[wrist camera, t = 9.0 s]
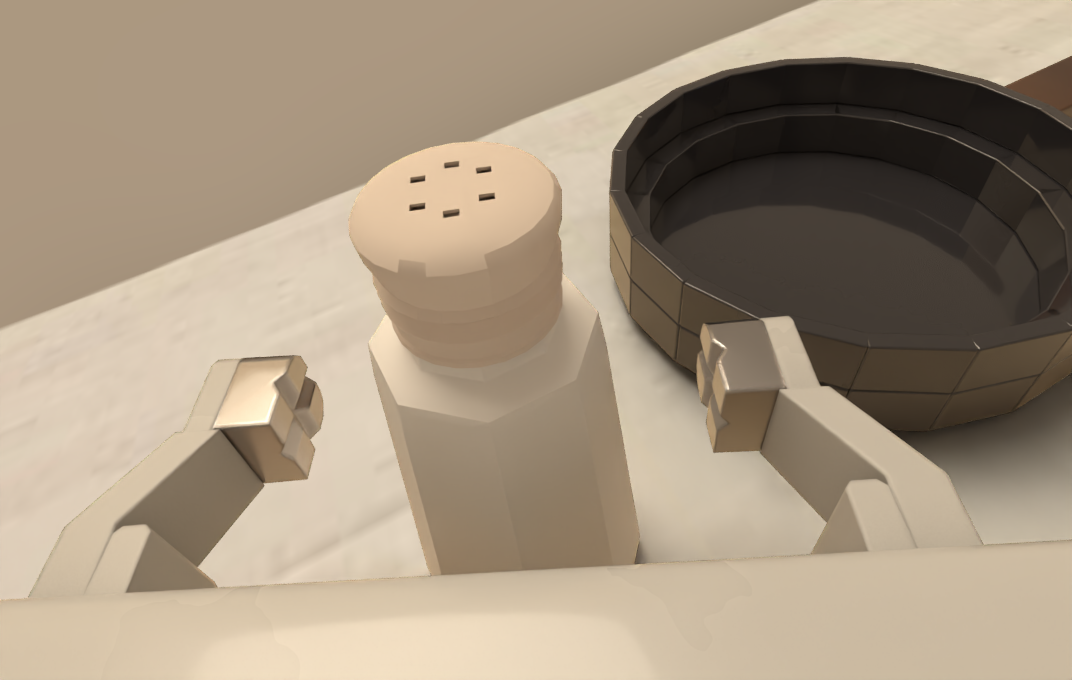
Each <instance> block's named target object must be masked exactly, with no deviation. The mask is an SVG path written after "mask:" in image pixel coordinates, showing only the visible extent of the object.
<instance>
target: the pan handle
mask: <svg viewBox="0 0 1072 680" xmlns="http://www.w3.org/2000/svg"><path fill="white" fill-rule="evenodd" d="M1004 87H1006V88H1009V89H1011V90H1014V91H1016V92H1019V93H1021V94H1024V95H1027V96H1029V97H1032V98H1034V99H1037V100H1039V101H1042V102H1044V103H1047V104H1050V105H1051V106H1054V107H1055V108H1057V109H1058V110H1060V111H1062V112H1063V113H1065V114H1066V115H1068V116H1069V117H1071V118H1072V56H1070V57H1068V58H1066V59H1064V60H1061V61H1059V62H1057V63H1055V64H1053V65H1051V66H1048V67H1046V68H1044V69H1042V70H1040V71H1037V72H1035V73H1033V74H1031V75H1029V76H1026V77H1024V78H1022V79H1020V80H1018V81H1015V82H1013V83H1011V84H1009V85H1007V86H1004Z"/></svg>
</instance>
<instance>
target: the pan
mask: <svg viewBox="0 0 1072 680" xmlns="http://www.w3.org/2000/svg"><path fill="white" fill-rule="evenodd" d="M609 205H610V268H611V272H612V274H613V277H614V279H615V281H616V284H617V286H618V289H619V291H620V293H621V296H622V298H623V300H624V303H625V305H626V308H627V310H628V312H629V314H630V315H631V317H632V318H633V319H634V320H635V321H636V322H637V323H638V324H639V325H640V326H641V327H642V328H643V329H644V330H645V331H646V332H647V333H648V335H649V336H650V337H651V338H652V339H653V340H654V341H655V342H656V343H657V344H658V345H659V346H660V347H661V348H662V349H663V350H664V351H665V352H666V353H667V354H668V355H669V356H670V357H671V358H672V359H673V360H674V361H676V362H677V363H678V364H680V365H682V366H683V367H685V368H687V369H689V370H690V371H692V372H694V373H696V374H697V357H698V353H699V352H700V351H701V350H702V349H703V347H702V343H701V339H700V334H701V328H702V326H703V324H704V323H709V322H721V321H732V320H743V319H754V318H758V319H760V318H769V317H781V316H789V317H791V318H792V319H793V321H794V323H795V326H796V328H797V330H798V333H799V335H800V338H801V340H802V343H803V345H804V347H805V350H806V352H807V355H808V357H809V360H810V362H811V364H812V367H813V369H814V372H815V374H816V377H817V379H818V381H819V384H820V386H830V387H831V388H832V389H834V390H835V391H837V392H838V393H839V394H841V395H842V396H843V397H845V398H846V399H847V400H849V401H850V402H851V403H853V404H854V405H856V406H857V407H858V408H860V409H861V410H862V411H864V412H865V413H866V414H868V415H869V416H870V417H872V418H873V419H874V420H876V421H877V422H879V423H880V424H881V425H883V426H884V427H885V428H887V429H888V430H909V431H928V430H934V429H939V428H943V427H948V426H952V425H957V424H961V423H965V422H970V421H974V420H979V419H983V418H988V417H992V416H996V415H1001V414H1005V413H1009V412H1012V411H1015V410H1016V409H1018V408H1019V407H1021V406H1022V405H1024V404H1025V403H1027V402H1028V401H1030V400H1031V399H1033V398H1034V397H1036V396H1037V395H1039V394H1041V393H1042V392H1044V391H1045V390H1047V389H1048V388H1050V387H1051V386H1053V385H1054V384H1056V383H1057V382H1059V381H1060V380H1062V379H1063V378H1065V377H1066V376H1068V375H1069V374H1070V373H1071V372H1072V118H1071V117H1069V116H1068V115H1066V114H1065V113H1063V112H1062V111H1060V110H1058V109H1057V108H1055V107H1054V106H1051V105H1050V104H1047V103H1044V102H1042V101H1039V100H1037V99H1034V98H1032V97H1029V96H1027V95H1024V94H1021V93H1019V92H1016V91H1014V90H1011V89H1009V88H1006V87H1003V86H1001V85H998V84H996V83H993V82H991V81H988V80H984V79H981V78H977V77H973V76H968V75H964V74H959V73H955V72H951V71H946V70H942V69H938V68H933V67H929V66H924V65H920V64H914V63H905V62H894V61H883V60H873V59H862V58H851V57H848V58H847V57H835V58H808V59H784V60H777V61H772V62H766V63H761V64H756V65H750V66H745V67H739V68H734V69H729V70H725V71H721V72H718V73H716V74H713V75H710V76H708V77H705V78H703V79H700V80H697V81H695V82H692V83H689V84H687V85H684V86H681V87H679V88H676V89H675V90H672V91H671V92H670V93H668V94H667V95H665V96H664V97H663V98H661V99H660V100H658V101H657V102H655V103H654V104H653V105H651V106H650V107H648V108H647V109H645V110H644V111H643V112H641V113H640V114H638V115H637V116H636V117H635V118H634V120H633V121H632V123H631V124H630V126H629V127H628V129H627V130H626V132H625V133H624V135H623V136H622V138H621V139H620V141H619V142H618V144H617V145H616V147H615V148H614V150H613V152H612V164H611V177H610V190H609Z"/></svg>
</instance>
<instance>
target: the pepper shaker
mask: <svg viewBox="0 0 1072 680" xmlns="http://www.w3.org/2000/svg"><path fill="white" fill-rule="evenodd" d="M561 220H562V189H561V187H560V185H559V183H558V181H557V178H556V176H555V174H553V173H552V172H551V171H550V170H549V169H548V168H547V167H546V166H545V165H544V164H543V163H542V162H541V161H539V160H538V159H537V158H536V157H535V156H533V155H531V154H529V153H527V152H525V151H523V150H521V149H519V148H515V147H511V146H507V145H503V144H499V143H489V142H463V143H450V144H446V145H441V146H436V147H432V148H427V149H425V150H422V151H419V152H416V153H413V154H411V155H408V156H405V157H403V158H402V159H400V160H398V161H396V162H394V163H392V164H390V165H389V166H387V167H385V168H384V169H383V170H382V171H380V172H379V173H378V174H377V175H375V176H374V177H373V178H372V179H370V180H369V182H368V183H367V184H366V185H365V187H364V188H363V189H362V190H361V192H360V193H359V194H358V196H357V199H356V201H355V203H354V206H353V208H352V211H351V214H350V217H349V236H350V238H351V240H352V242H353V245H354V247H355V249H356V250H357V252H358V254H359V256H360V258H361V259H362V261H363V263H364V264H365V265H366V267H367V268H368V269H369V270H370V271H371V273H372V275H373V284H374V286H375V288H376V290H377V294H378V296H379V298H380V300H381V304H382V306H383V308H384V310H385V312H386V313H387V314H386V316H385V317H384V319H383V320H382V322H381V324H380V325H379V327H378V328H377V330H376V332H375V333H374V335H373V337H372V338H371V340H370V341H369V343H368V346H369V352H370V357H371V362H372V367H373V372H374V377H375V380H376V384H377V387H378V391H379V395H380V398H381V402H382V405H383V409H384V413H385V416H386V420H387V423H388V427H389V431H390V434H391V438H392V441H393V445H394V449H395V452H396V456H397V459H398V463H399V467H400V470H401V474H402V477H403V481H404V485H405V488H406V492H407V495H408V499H409V503H410V506H411V510H412V513H413V517H414V521H415V524H416V528H417V531H418V535H419V539H420V542H421V546H422V549H423V553H424V557H425V560H426V564H427V567H428V569H429V571H430V574H431V576H434V575H452V574H470V573H487V572H505V571H523V570H541V569H560V568H578V567H596V566H614V565H632V564H634V563H635V558H636V553H637V548H638V543H639V538H640V534H639V529H638V523H637V517H636V511H635V506H634V500H633V494H632V489H631V483H630V477H629V471H628V466H627V460H626V454H625V449H624V443H623V437H622V431H621V426H620V420H619V414H618V409H617V403H616V397H615V391H614V386H613V380H612V374H611V369H610V363H609V357H608V351H607V346H606V341H605V337H604V333H603V329H602V325H601V322H600V318H599V314H598V311H597V310H596V309H595V308H594V307H593V306H592V305H591V304H590V302H589V301H588V300H587V299H586V298H585V297H584V296H583V295H582V294H581V292H580V291H579V290H578V289H577V288H576V287H575V286H574V285H573V283H572V282H571V281H570V280H569V279H568V278H567V277H566V276H565V275H564V273H563V272H562V252H561V240H560V238H559V235H558V231H559V228H560V224H561Z"/></svg>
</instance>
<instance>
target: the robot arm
mask: <svg viewBox="0 0 1072 680" xmlns="http://www.w3.org/2000/svg"><path fill="white" fill-rule="evenodd" d="M700 339H701V343H702V347H703V349H702V350H701V351H700V352H699V353H698V357H697V384H698V390H699V395H700V399H701V403H702V404H704V405H705V406H706V407H707V408H708V412H707V419H706V425H707V429H708V433H709V437H710V441H711V445H712V449H713V453H718V452H742V451H761V452H760V453H761V454H762V455H763V456H764V457H765V458H766V459H767V461H768V462H769V463H770V464H771V465H772V466H773V467H774V468H775V469H776V470H777V471H778V472H779V473H780V474H781V475H782V476H783V477H784V478H785V479H786V480H787V481H788V483H789V484H790V485H791V486H792V487H793V488H794V489H795V490H796V491H797V492H798V493H799V494H800V495H801V496H802V497H803V498H804V499H805V500H806V501H807V502H808V503H809V505H810V506H811V507H812V508H813V509H814V510H815V511H816V512H817V513H818V514H819V515H820V516H821V517H822V518H823V519H824V520H825V521H826V522H827V524H826V526H825V528H824V530H823V532H822V534H821V536H820V538H819V539H818V541H817V543H816V545H815V547H814V549H813V551H812V553H811V555H793V556H775V557H758V558H740V559H722V560H704V561H687V562H668V563H650V564H632V565H614V566H596V567H578V568H560V569H541V570H523V571H505V572H487V573H470V574H452V575H434V576H417V577H399V578H381V579H363V580H346V581H328V582H310V583H292V584H274V585H256V586H239V587H221V588H218V587H217V585H216V584H215V582H214V581H213V580H212V579H211V578H209V577H208V576H207V575H206V574H205V573H203V572H202V571H201V570H200V569H199V568H197V567H198V566H199V565H200V563H201V562H202V561H203V560H204V559H205V557H206V556H207V555H208V554H209V553H210V551H211V550H212V549H213V548H214V546H215V545H216V544H217V543H218V542H219V540H220V539H221V538H222V537H223V536H224V534H225V533H226V532H227V531H228V530H229V528H230V527H231V526H232V525H233V523H234V522H235V521H236V520H237V519H238V517H239V516H240V515H241V514H242V513H243V511H244V510H245V509H246V508H247V506H248V505H249V504H250V503H251V502H252V500H253V499H254V498H255V497H256V496H257V494H258V493H259V492H260V491H261V489H262V488H263V487H264V484H263V483H273V482H284V481H295V480H305V479H308V475H309V472H310V468H311V464H312V460H313V456H314V452H315V448H314V446H313V444H312V442H311V441H310V439H311V438H312V437H313V436H314V435H315V434H316V433H317V432H318V431H319V430H320V429H321V424H322V420H323V398H322V395H321V391H320V389H319V387H318V385H317V383H316V382H315V381H313V380H311V379H309V378H308V377H306V376H305V375H306V371H307V368H308V367H307V366H306V364H305V362H304V361H303V359H302V358H301V356H295V355H292V356H273V357H254V358H241V359H224V360H218V361H217V362H215V363H214V364H213V365H212V366H211V368H210V370H209V373H208V375H207V377H206V380H205V382H204V384H203V387H202V389H201V391H200V394H199V396H198V398H197V400H196V403H195V405H194V407H193V410H192V412H191V414H190V417H189V419H188V421H187V424H186V426H185V428H184V431H183V432H175V433H174V434H173V435H172V436H171V437H169V438H168V439H167V440H166V441H165V442H164V443H162V444H161V445H160V446H159V447H158V448H157V449H155V450H154V451H153V452H152V453H151V454H149V455H148V456H147V457H146V458H145V459H144V460H142V461H141V462H140V463H139V464H138V465H137V466H135V467H134V468H133V469H132V470H131V471H130V472H128V473H127V474H126V475H125V476H124V477H123V478H121V479H120V480H119V481H118V482H117V483H115V484H114V485H113V486H112V487H111V488H110V489H108V490H107V491H106V492H105V493H104V494H103V495H101V496H100V497H99V498H98V499H97V500H96V501H94V502H93V503H92V504H91V505H90V506H89V507H87V508H86V509H85V510H84V511H83V512H81V513H80V514H79V515H78V516H77V517H76V518H74V519H73V520H72V521H71V522H70V523H69V524H67V525H66V526H65V527H64V529H63V531H62V532H61V534H60V536H59V538H58V540H57V542H56V544H55V546H54V548H53V550H52V552H51V554H50V556H49V558H48V559H47V561H46V563H45V565H44V567H43V569H42V571H41V573H40V575H39V577H38V579H37V581H36V583H35V585H34V586H33V588H32V590H31V592H30V594H29V596H28V598H24V599H7V600H0V680H1072V540H1059V541H1042V542H1024V543H1006V544H988V545H984V544H983V542H982V540H981V538H980V536H979V534H978V533H977V531H976V529H975V527H974V525H973V523H972V521H971V519H970V517H969V515H968V513H967V511H966V509H965V507H964V505H963V503H962V501H961V499H960V497H959V496H958V494H957V492H956V490H955V488H954V486H953V484H952V482H951V480H950V478H949V476H948V474H947V473H946V472H945V471H944V470H942V469H941V468H940V467H938V466H937V465H935V464H934V463H933V462H931V461H930V460H929V459H927V458H926V457H925V456H923V455H922V454H921V453H919V452H918V451H916V450H915V449H914V448H912V447H911V446H910V445H908V444H907V443H906V442H904V441H903V440H902V439H900V438H899V437H898V436H896V435H895V434H893V433H892V432H891V431H889V430H888V429H887V428H885V427H884V426H883V425H881V424H880V423H879V422H877V421H876V420H874V419H873V418H872V417H870V416H869V415H868V414H866V413H865V412H864V411H862V410H861V409H860V408H858V407H857V406H856V405H854V404H853V403H851V402H850V401H849V400H847V399H846V398H845V397H843V396H842V395H841V394H839V393H838V392H837V391H835V390H834V389H832V388H831V387H830V386H820V384H819V381H818V379H817V377H816V374H815V372H814V369H813V367H812V364H811V362H810V360H809V357H808V355H807V352H806V350H805V347H804V345H803V343H802V340H801V338H800V335H799V333H798V330H797V328H796V326H795V323H794V321H793V319H792V318H791V317H789V316H781V317H769V318H760V319H758V318H754V319H743V320H732V321H721V322H709V323H704V324H703V326H702V328H701V334H700Z"/></svg>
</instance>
